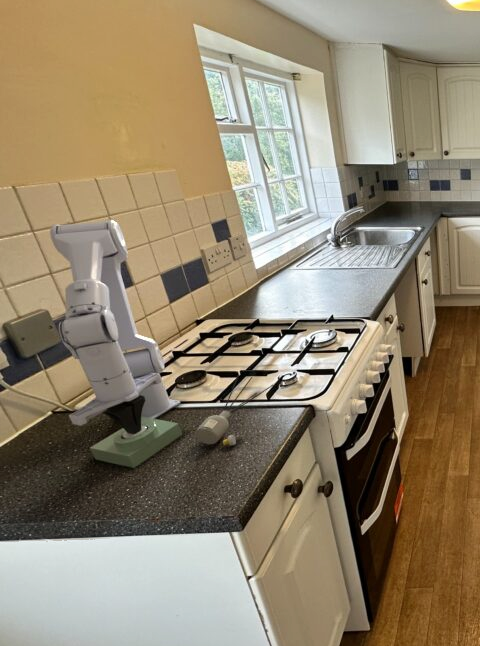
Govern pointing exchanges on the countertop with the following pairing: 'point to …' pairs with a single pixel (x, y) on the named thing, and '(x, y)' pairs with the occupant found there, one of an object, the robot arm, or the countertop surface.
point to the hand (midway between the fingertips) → (134, 431)
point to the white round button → (129, 436)
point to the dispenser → (136, 443)
